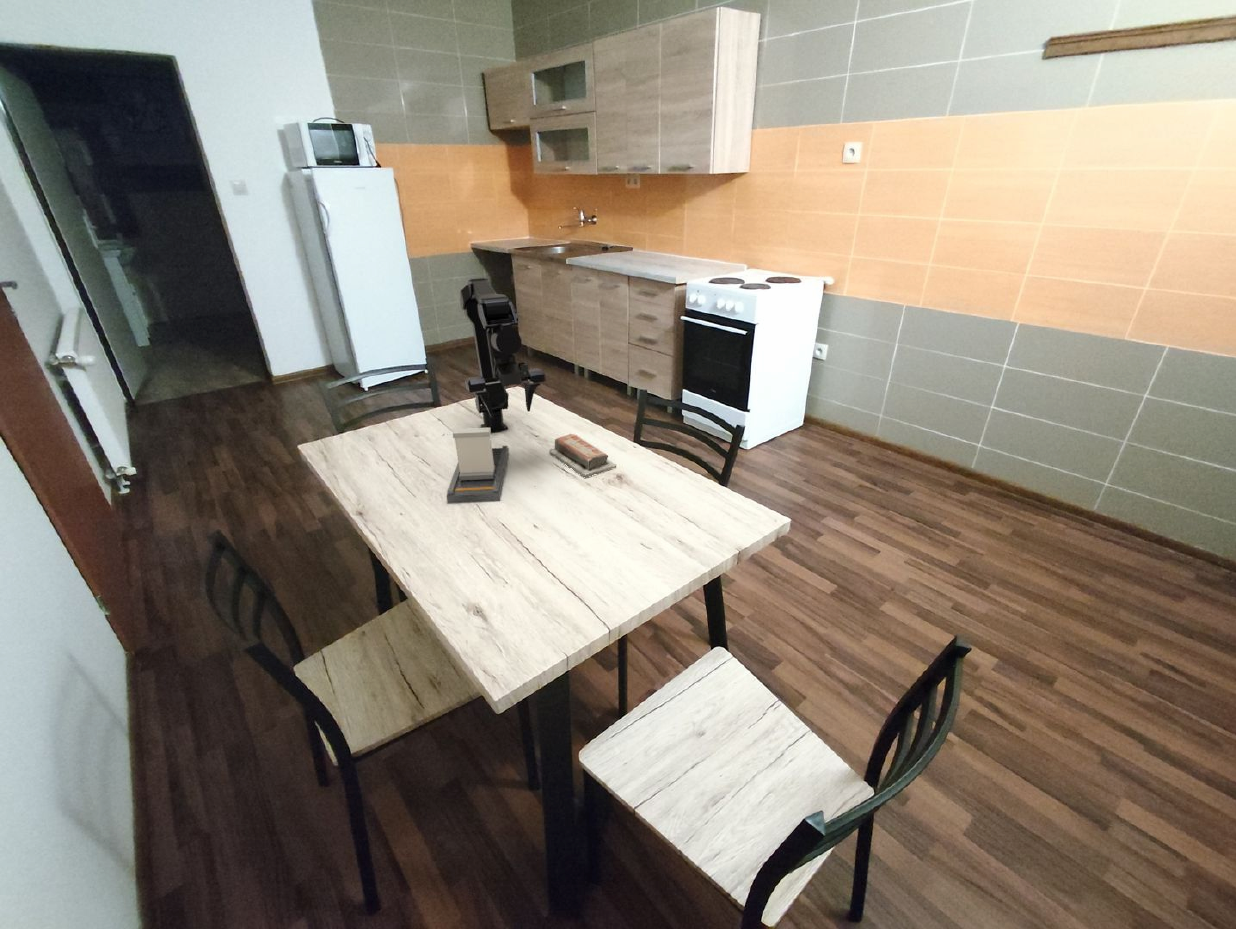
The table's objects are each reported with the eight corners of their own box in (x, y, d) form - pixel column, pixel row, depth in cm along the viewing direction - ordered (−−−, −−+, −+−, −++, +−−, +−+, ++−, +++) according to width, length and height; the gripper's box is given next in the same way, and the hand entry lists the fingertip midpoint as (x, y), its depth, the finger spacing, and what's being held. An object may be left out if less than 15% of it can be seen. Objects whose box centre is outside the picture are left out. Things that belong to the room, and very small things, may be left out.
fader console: (464, 456, 153) (462, 447, 151) (509, 454, 154) (508, 445, 152) (447, 503, 132) (445, 492, 130) (499, 500, 132) (498, 490, 131)
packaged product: (547, 438, 152) (578, 429, 157) (548, 454, 154) (579, 445, 159) (584, 463, 139) (616, 452, 144) (585, 480, 141) (617, 469, 147)
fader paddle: (462, 470, 141) (455, 426, 135) (496, 469, 141) (490, 425, 136) (458, 480, 136) (451, 435, 131) (494, 478, 137) (488, 434, 131)
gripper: (467, 359, 126) (478, 427, 131) (548, 349, 132) (555, 414, 137) (460, 354, 136) (470, 418, 140) (535, 345, 142) (543, 406, 147)
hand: (510, 414), depth 141 cm, fingers open, 9 cm apart
